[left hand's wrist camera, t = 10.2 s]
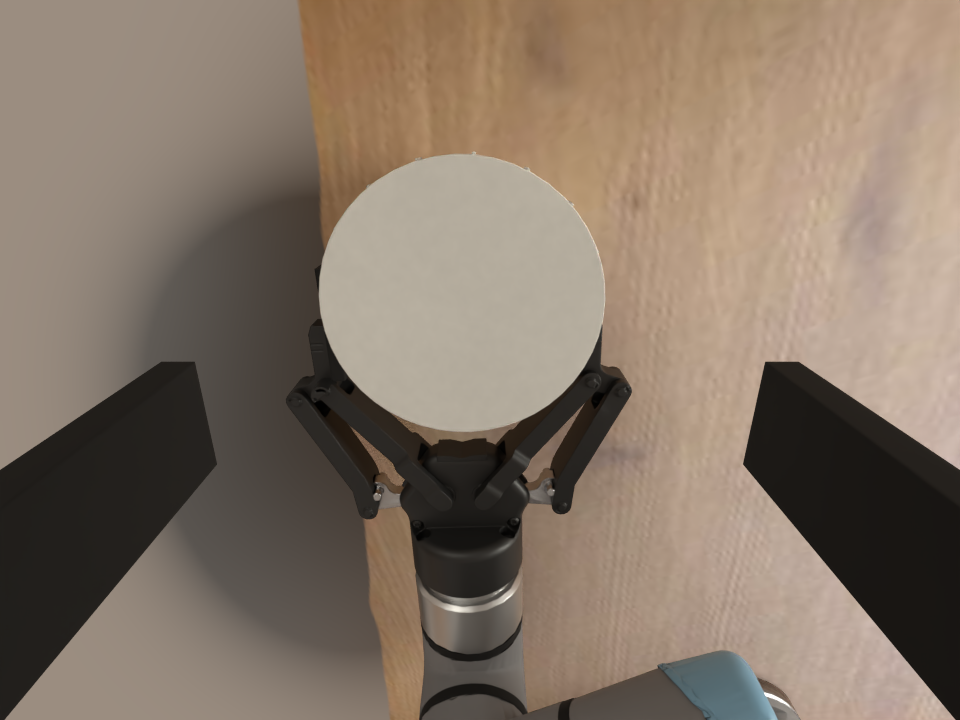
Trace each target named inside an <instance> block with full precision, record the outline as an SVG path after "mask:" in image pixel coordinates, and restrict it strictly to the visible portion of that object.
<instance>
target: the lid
mask: <svg viewBox="0 0 960 720" xmlns="http://www.w3.org/2000/svg"><path fill="white" fill-rule="evenodd" d="M366 187H367V189H365V190H364V191H363V192H362V193H361V194H360V195H359V196H358V197H357V198H356V199H355V200H354V201H353V203H352V204H351V205H350V206H349V207H348V208H347V210H346V211H345V213H344V214H343V215H342V217H341V218H340V220H339V221H338V223H337V225H336V227H334V229H333V230H334V231H333V233H332V235H331V237H330V239H329V241H328V244H327V247H326V250H325V253H324V256H323V260H322V266H321V271H320V277H319V302H320V312H321V317H322V322H323V326H324V330H325V333H326V336H327V338H328V341H329V344H330V346H331V348H332V350H333V352H334V354H335V356H336V358H337V360H338V362H339V363H340V365H341V366H342V368H343V369H344V371H345V372H346V373H347V375H348V376H349V378H350V379H351V380H352V381H353V382H354V383H355V384H356V385H357V386H358V388H359V389H360V390H361V391H362V392H363V393H365V394H366V395H367V396H368V397H369V398H370V399H372V400H373V401H374V402H375V403H377V404H378V405H380V406H381V407H383V408H384V409H386V410H387V411H389V412H391V413H392V414H394V415H396V416H398V417H400V418H402V419H404V420H407V421H410V422H412V423H415V424H417V425H420V426H424V427H428V428H432V429H436V430H444V431H451V432H475V431H485V430H491V429H495V428H500V427H504V426H507V425H510V424H513V423H516V422H519V421H521V420H523V419H525V418H527V417H529V416H531V415H533V414H535V413H537V412H538V411H540V410H541V409H543V408H545V407H546V406H548V405H549V404H550V403H552V402H553V401H554V400H555V399H556V398H558V397H559V396H560V395H561V394H562V393H563V392H564V391H565V390H566V389H567V388H568V387H569V386H570V385H571V384H572V383H573V382H574V380H575V379H576V378H577V376H578V375H579V374H580V372H581V371H582V370H583V368H584V367H585V365H586V363H587V361H588V359H589V358H590V356H591V354H592V352H593V350H594V347H595V344H596V342H597V339H598V337H599V333H600V329H601V325H602V321H603V316H604V307H605V281H604V275H603V269H602V263H601V260H600V257H599V254H598V253H599V250H598V249H597V247H596V245H595V242H594V240H593V238H592V236H591V234H590V232H589V230H588V228H587V226H586V225H585V223H584V222H583V220H582V218H581V217H580V215H579V214H578V212H577V211H576V210H575V209H574V208H573V205H574V204H573V203H572V202H570V201H568V200H566V198H565V197H564V196H563V195H561V194H560V193H559V192H558V191H557V190H556V189H555V188H553V187H552V186H551V185H550V184H549V183H547V182H546V181H544V180H542V179H541V178H539V177H538V176H536V175H535V174H533V173H532V172H530V169H529V168H528V167H524V169H523V168H521V167H519V166H517V165H515V164H513V163H510V162H507V161H504V160H501V159H497V158H494V157H489V156H483V155H477V154H476V152H472V154H448V155H440V156H433V157H429V158H426V159H422V157H419V158H415V161H414V162H411V163H409V164H407V165H404V166H402V167H400V168H397V169H395V170H393V171H391V172H390V173H388V174H386V175H385V176H383V177H381V178H380V179H378V180H376V181H375V182H374V183H372V184H369V185H367V186H366Z"/></svg>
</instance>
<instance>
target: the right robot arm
mask: <svg viewBox="0 0 960 720" xmlns="http://www.w3.org/2000/svg"><path fill="white" fill-rule="evenodd" d="M321 266H322V264H321V265H320V266H318V267H317V268H316V269H315V275H316V281H317V287H318V294H319V277H320V271H321ZM308 336H309V342H310V348H311V354H312V359H313V366H314V372H315V375H313V376H311V377H309V376H306V377H303V378H302V379H301V380H300V381H299V382H298V383H297V385H296V386H295V387H294V388H293V390H292V391H291V392H290V394H289V395H288V396H287V398H286V403H287V405H288V407H289V408H290V410H291V411H292V412H293V414H294V415H295V416H296V418H297V419H298V420H299V421H300V423H301V424H302V425H303V427H304V428H305V429H306V431H307V432H308V433H309V435H310V436H311V437H312V439H313V440H314V441H315V443H316V444H317V445H318V446H319V448H320V449H321V450H322V452H323V453H324V454H325V456H326V457H327V458H328V460H329V461H330V462H331V464H332V465H333V466H334V467H335V469H336V470H337V471H338V473H339V474H340V475H341V477H342V478H343V479H344V481H345V482H346V483H347V485H348V486H349V487H350V489H351V490H352V491H353V494H354V498H355V501H356V504H357V508H358V511H359V514H360V516H361V517H363V518H365V519H373V518H374V517H376V515H377V513H378V509H384V508H392V507H400V506H402V508H403V509H404V510H405V512H406V513H407V515H408V517H409V520H410V527H411V537H412V546H413V555H414V565H415V569H416V584H417V592H418V601H419V609H420V619H421V626H422V633H423V647H424V678H423V687H422V696H421V705H420V717H419V720H800V718H799V716H798V714H797V712H796V711H795V709H794V707H793V705H792V703H791V702H790V700H789V699H788V697H787V696H786V695H785V694H784V693H783V692H782V691H781V690H780V689H779V688H777V687H776V686H774V685H773V684H771V683H769V682H767V681H764V680H762V679H758V678H756V676H755V674H754V672H753V671H752V669H751V667H750V666H749V665H748V663H747V662H746V661H745V660H744V659H743V658H742V657H740V656H739V655H737V654H735V653H733V652H730V651H716V652H712V653H708V654H704V655H700V656H696V657H692V658H688V659H684V660H680V661H676V662H672V663H668V664H666V663H662V664H659V665H658V669H655V670H652V671H649V672H647V673H644V674H641V675H638V676H636V677H633V678H630V679H627V680H625V681H622V682H619V683H616V684H614V685H611V686H608V687H605V688H603V689H600V690H597V691H595V692H592V693H589V694H586V695H584V696H581V697H578V698H572V699H569V700H566V701H562V702H559V703H556V704H554V705H551V706H548V707H545V708H542V709H539V710H536V711H533V712H530V713H528V712H527V701H526V689H525V676H524V660H523V635H522V613H523V573H522V564H521V563H522V513H523V511H524V509H525V507H526V506H527V504H528V503H535V504H551V505H552V509H553V511H554V512H555V513H557V514H565V513H567V512H568V511H569V510H570V508H571V504H572V498H573V492H574V486H575V484H576V482H577V481H578V479H579V478H580V476H581V474H582V473H583V471H584V470H585V468H586V466H587V465H588V463H589V462H590V460H591V458H592V457H593V455H594V453H595V452H596V450H597V449H598V447H599V445H600V444H601V442H602V441H603V439H604V437H605V436H606V434H607V433H608V431H609V429H610V428H611V426H612V425H613V423H614V421H615V420H616V418H617V416H618V415H619V413H620V412H621V410H622V408H623V407H624V405H625V404H626V402H627V400H628V399H629V397H630V395H631V393H632V389H631V387H630V385H629V383H628V382H627V380H626V378H625V377H624V375H623V374H622V372H621V371H620V369H619V368H617V367H606V366H603V365H601V364H600V363H601V344H602V342H601V341H602V325H601V329H600V333H599V337H598V339H597V342H596V344H595V347H594V350H593V352H592V354H591V356H590V358H589V359H588V361H587V363H586V365H585V367H584V368H583V370H582V371H581V372H580V374H579V375H578V376H577V378H576V379H575V380H574V382H573V383H572V384H571V385H570V386H569V387H568V388H567V389H566V390H565V391H564V392H563V393H562V394H561V395H560V396H559V397H558V398H556V399H555V400H554V401H553V402H552V403H550V404H549V405H548V406H546V407H545V408H543V409H541V410H540V411H538V412H537V413H535V414H533V415H531V416H529V417H527V418H525V419H523V420H521V422H520V423H519V424H518V425H517V426H516V427H515V428H514V429H513V430H509V431H508V432H507V433H506V434H505V435H504V436H503V437H502V438H501V439H500V440H499V441H498V442H497V443H496V445H494V444H492V443H490V442H486V438H481V439H472V440H468V441H464V442H461V441H456V440H451V439H449V440H439V443H438V444H435V445H433V446H431V445H430V444H429V443H428V442H427V441H425V440H424V439H423V438H422V437H421V436H420V435H419V434H418V433H415V432H414V433H412V432H411V431H409V430H408V429H407V428H406V427H405V426H404V425H403V424H402V423H401V422H400V421H399V420H397V419H396V418H395V417H394V416H393V415H392V414H391V413H390V412H389V411H387V410H386V409H384V408H383V407H381V406H380V405H378V404H377V403H375V402H374V401H373V400H372V399H370V398H369V397H368V396H367V395H366V394H365V393H363V392H362V391H361V390H360V389H359V388H358V386H357V385H356V384H355V383H354V382H353V381H352V380H351V379H350V378H349V376H348V375H347V373H346V372H345V371H344V369H343V368H342V366H341V365H340V363H339V362H338V360H337V358H336V356H335V354H334V352H333V350H332V348H331V346H330V344H329V341H328V338H327V336H326V333H325V330H324V326H323V322H322V319H317V320H316V321H315V322H314V323H313V324H312V325H311V327H310V331H309V335H308ZM584 403H585V404H584ZM583 404H584V406H583V407H582V409H581V411H580V413H579V414H578V416H577V418H576V419H575V421H574V423H573V424H572V426H571V428H570V430H569V431H568V433H567V435H566V436H565V438H564V440H563V441H562V443H561V445H560V447H559V448H558V450H557V452H556V454H555V455H554V457H553V460H552V463H551V467H550V468H545V469H543V472H542V473H541V474H540V476H539V478H538V479H537V480H536V481H534V482H527V479H526V478H525V477H524V475H523V474H522V473H523V472H524V471H525V470H526V468H527V467H528V465H529V462H530V460H531V458H532V457H533V456H534V455H535V454H536V453H537V452H538V451H539V450H540V449H541V448H542V447H543V446H544V445H545V444H546V443H547V442H548V441H549V440H550V439H551V437H552V436H553V435H554V434H555V433H556V432H557V431H558V430H559V429H560V428H561V427H562V426H563V425H564V424H565V423H566V422H567V421H568V420H569V419H570V418H571V417H572V416H573V415H574V414H575V412H576V411H577V410H578V409H579V408H580V407H581V406H582V405H583ZM347 423H348V424H349V425H350V426H351V427H352V428H353V429H355V430H356V431H357V432H358V433H359V434H360V435H361V436H363V437H364V438H365V439H366V440H367V441H368V442H369V443H371V444H372V445H373V446H374V447H375V448H376V449H377V450H379V451H380V452H381V453H382V454H383V455H384V456H385V457H386V458H388V459H389V460H390V461H391V462H392V463H393V464H394V467H395V470H396V471H397V473H398V474H399V475H401V476H402V477H403V478H404V479H405V481H404V482H403V484H402V486H396V485H394V484H392V483H391V481H390V480H389V478H388V476H387V474H386V473H383V472H382V473H379V470H378V467H377V465H376V463H375V462H374V460H373V458H372V457H371V455H370V454H369V453H368V451H367V450H366V449H365V447H364V446H363V444H362V443H361V442H360V440H359V439H358V438H357V436H356V435H355V433H354V432H353V431H352V429H351V428H350V426H349V425H348V424H347Z"/></svg>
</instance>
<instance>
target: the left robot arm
mask: <svg viewBox="0 0 960 720" xmlns="http://www.w3.org/2000/svg"><path fill="white" fill-rule="evenodd" d="M216 465H217V462H216V458H215V453H214V448H213V444H212V439H211V435H210V430H209V425H208V421H207V416H206V412H205V407H204V402H203V398H202V393H201V388H200V384H199V379H198V375H197V370H196V365H195V362H160V363H159V364H157V365H156V366H154V367H153V368H151V369H150V370H149V371H147V372H146V373H144V374H143V375H141V376H140V377H138V378H137V379H135V380H134V381H132V382H131V383H129V384H128V385H126V386H125V387H123V388H122V389H120V390H119V391H117V392H116V393H114V394H113V395H111V396H110V397H108V398H107V399H105V400H104V401H102V402H101V403H99V404H98V405H96V406H95V407H93V408H92V409H90V410H89V411H87V412H86V413H84V414H83V415H81V416H80V417H78V418H77V419H75V420H74V421H73V422H71V423H70V424H68V425H67V426H65V427H64V428H62V429H61V430H59V431H58V432H56V433H55V434H53V435H52V436H50V437H49V438H47V439H46V440H44V441H43V442H41V443H40V444H38V445H37V446H35V447H34V448H32V449H31V450H29V451H28V452H26V453H25V454H23V455H22V456H20V457H19V458H17V459H16V460H14V461H13V462H11V463H10V464H8V465H7V466H5V467H4V468H2V469H1V470H0V720H5V718H6V717H7V716H8V715H9V714H10V712H11V711H12V710H13V709H14V708H15V706H16V705H17V704H18V703H19V702H20V700H21V699H22V698H23V697H24V696H25V694H26V693H27V692H28V691H29V690H30V688H31V687H32V686H33V685H34V684H35V682H36V681H37V680H38V679H39V678H40V676H41V675H42V674H43V673H44V672H45V670H46V669H47V668H48V667H49V665H50V664H51V663H52V662H53V661H54V659H55V658H56V657H57V656H58V655H59V654H60V652H61V651H62V650H63V649H64V647H65V646H66V645H67V644H68V643H69V641H70V640H71V639H72V638H73V637H74V635H75V634H76V633H77V632H78V631H79V629H80V628H81V627H82V626H83V625H84V623H85V622H86V621H87V620H88V619H89V617H90V616H91V615H92V614H93V613H94V611H95V610H96V609H97V608H98V607H99V605H100V604H101V603H102V602H103V601H104V599H105V598H106V597H107V596H108V595H109V593H110V592H111V591H112V590H113V589H114V587H115V586H116V585H117V584H118V583H119V581H120V580H121V579H122V578H123V577H124V575H125V574H126V573H127V572H128V571H129V569H130V568H131V567H132V566H133V565H134V563H135V562H136V561H137V560H138V558H139V557H140V556H141V555H142V554H143V553H144V551H145V550H146V549H147V548H148V546H149V545H150V544H151V543H152V542H153V540H154V539H155V538H156V537H157V536H158V535H159V533H160V532H161V531H162V530H163V528H164V527H165V526H166V525H167V524H168V522H169V521H170V520H171V519H172V518H173V516H174V515H175V514H176V513H177V512H178V510H179V509H180V508H181V507H182V506H183V504H184V503H185V502H186V501H187V500H188V498H189V497H190V496H191V495H192V494H193V492H194V491H195V490H196V489H197V488H198V486H199V485H200V484H201V483H202V482H203V480H204V479H205V478H206V477H207V476H208V474H209V473H210V472H211V471H212V470H213V468H214V467H215V466H216ZM743 465H744V466H745V467H746V468H747V470H748V471H749V472H750V473H751V474H752V476H753V477H754V478H755V479H756V480H757V482H758V483H759V484H760V485H761V486H762V488H763V489H764V490H765V491H766V492H767V494H768V495H769V496H770V497H771V498H772V500H773V501H774V502H775V503H776V504H777V506H778V507H779V508H780V509H781V510H782V512H783V513H784V514H785V515H786V516H787V518H788V519H789V520H790V521H791V522H792V524H793V525H794V526H795V527H796V528H797V530H798V531H799V532H800V533H801V535H802V536H803V537H804V538H805V539H806V541H807V542H808V543H809V544H810V545H811V547H812V548H813V549H814V550H815V551H816V553H817V554H818V555H819V556H820V557H821V559H822V560H823V561H824V562H825V563H826V565H827V566H828V567H829V568H830V569H831V571H832V572H833V573H834V574H835V575H836V577H837V578H838V579H839V580H840V581H841V583H842V584H843V585H844V586H845V587H846V589H847V590H848V591H849V592H850V593H851V595H852V596H853V597H854V598H855V599H856V601H857V602H858V603H859V604H860V605H861V607H862V608H863V609H864V610H865V611H866V613H867V614H868V615H869V616H870V617H871V619H872V620H873V621H874V622H875V623H876V625H877V626H878V627H879V628H880V629H881V631H882V632H883V633H884V634H885V635H886V637H887V638H888V639H889V640H890V641H891V643H892V644H893V645H894V646H895V648H896V649H897V650H898V651H899V652H900V654H901V655H902V656H903V657H904V658H905V660H906V661H907V662H908V663H909V664H910V666H911V667H912V668H913V669H914V670H915V672H916V673H917V674H918V675H919V676H920V678H921V679H922V680H923V681H924V682H925V684H926V685H927V686H928V687H929V688H930V690H931V691H932V692H933V693H934V694H935V696H936V697H937V698H938V699H939V700H940V702H941V703H942V704H943V705H944V706H945V708H946V709H947V710H948V711H949V712H950V714H951V715H952V716H953V717H954V718H955V720H960V470H959V469H958V468H956V467H955V466H953V465H952V464H950V463H949V462H947V461H946V460H944V459H943V458H941V457H940V456H938V455H937V454H935V453H934V452H932V451H931V450H929V449H928V448H926V447H925V446H923V445H922V444H920V443H919V442H917V441H916V440H914V439H913V438H911V437H910V436H908V435H907V434H905V433H904V432H902V431H901V430H899V429H898V428H896V427H895V426H893V425H892V424H890V423H889V422H887V421H886V420H885V419H883V418H882V417H880V416H879V415H877V414H876V413H874V412H873V411H871V410H870V409H868V408H867V407H865V406H864V405H862V404H861V403H859V402H858V401H856V400H855V399H853V398H852V397H850V396H849V395H847V394H846V393H844V392H843V391H841V390H840V389H838V388H837V387H835V386H834V385H832V384H831V383H829V382H828V381H826V380H825V379H823V378H822V377H820V376H819V375H817V374H816V373H814V372H813V371H812V370H810V369H809V368H807V367H806V366H804V365H803V364H801V363H800V362H765V365H764V370H763V375H762V379H761V384H760V388H759V393H758V398H757V402H756V407H755V412H754V416H753V421H752V425H751V430H750V435H749V439H748V444H747V448H746V453H745V458H744V462H743Z"/></svg>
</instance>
